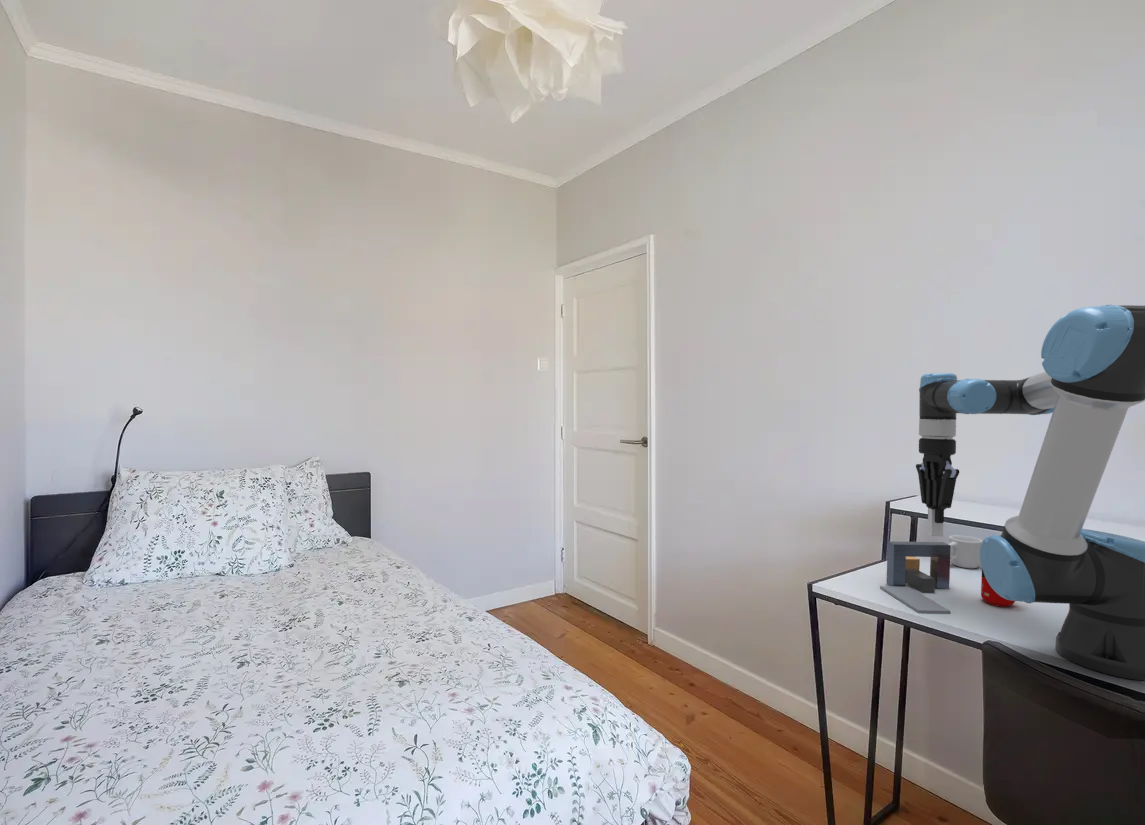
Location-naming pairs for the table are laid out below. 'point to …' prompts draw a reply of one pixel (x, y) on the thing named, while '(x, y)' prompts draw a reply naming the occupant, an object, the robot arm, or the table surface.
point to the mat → (914, 599)
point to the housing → (918, 549)
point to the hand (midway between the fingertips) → (935, 535)
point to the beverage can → (992, 594)
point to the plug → (918, 576)
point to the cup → (965, 551)
